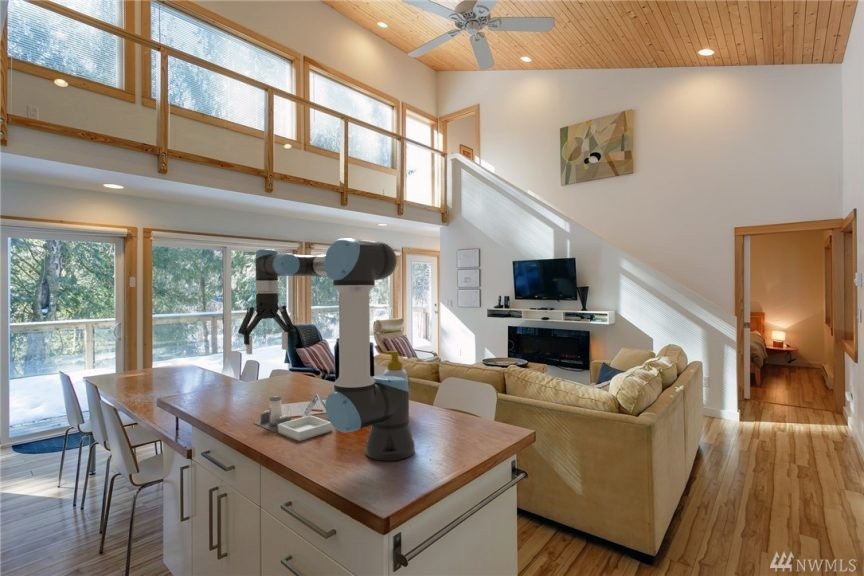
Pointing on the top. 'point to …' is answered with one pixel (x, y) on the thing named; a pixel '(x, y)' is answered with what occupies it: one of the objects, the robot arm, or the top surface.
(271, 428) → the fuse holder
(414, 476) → the top surface
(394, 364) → the soap bottle
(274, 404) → the cylinder
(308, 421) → the parts tray
